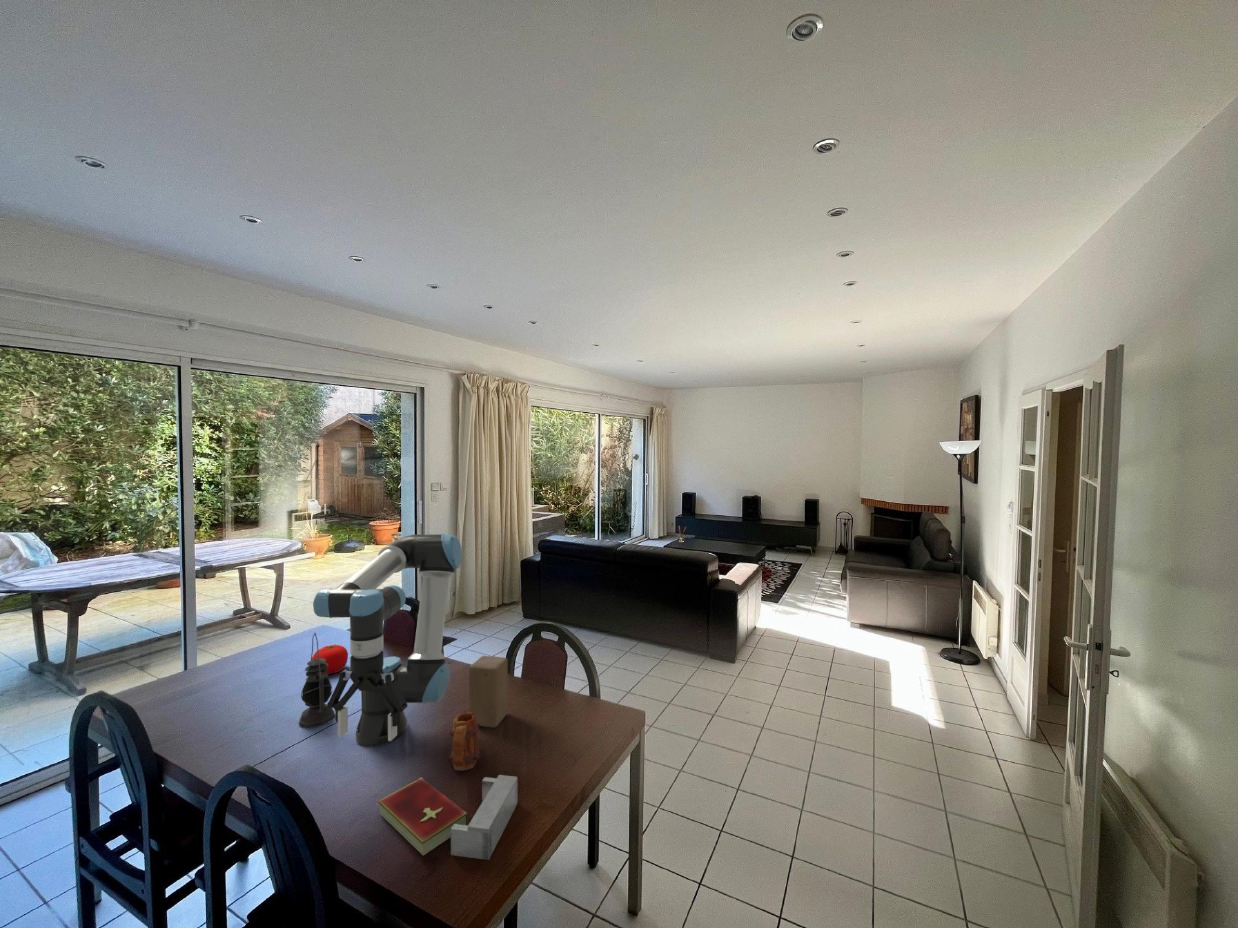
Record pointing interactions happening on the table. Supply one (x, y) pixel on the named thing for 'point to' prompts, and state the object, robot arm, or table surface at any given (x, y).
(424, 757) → the table surface
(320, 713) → the lantern
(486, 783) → the end cap
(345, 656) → the tomato
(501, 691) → the wooden block
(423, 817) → the hardcover book
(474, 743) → the mug
